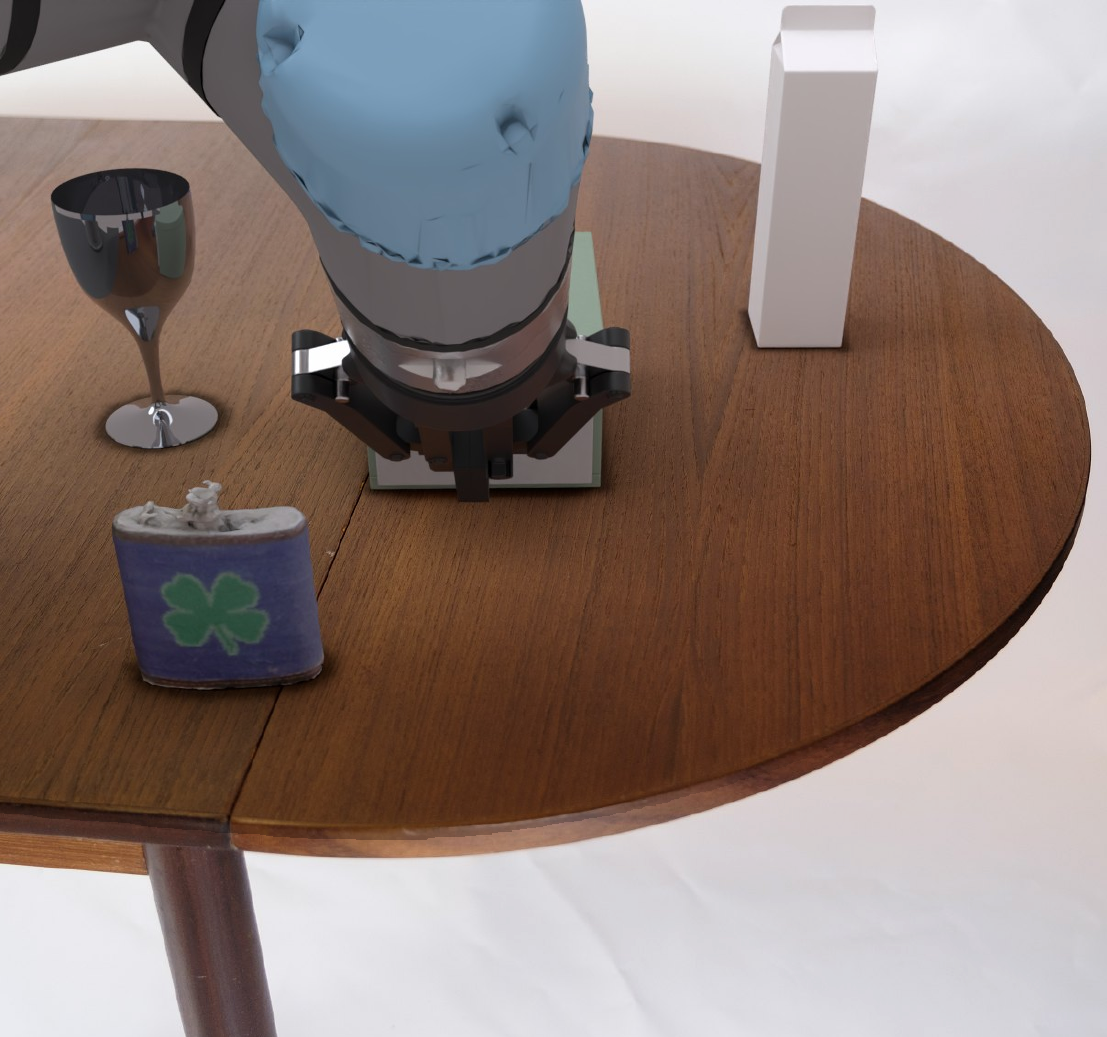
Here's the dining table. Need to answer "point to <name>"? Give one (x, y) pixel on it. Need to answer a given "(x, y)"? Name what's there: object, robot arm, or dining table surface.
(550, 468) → the drawer
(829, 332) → the milk
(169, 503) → the dining table surface
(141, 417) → the wine glass
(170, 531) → the flask
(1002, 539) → the dining table surface
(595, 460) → the cabinet
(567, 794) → the dining table surface
